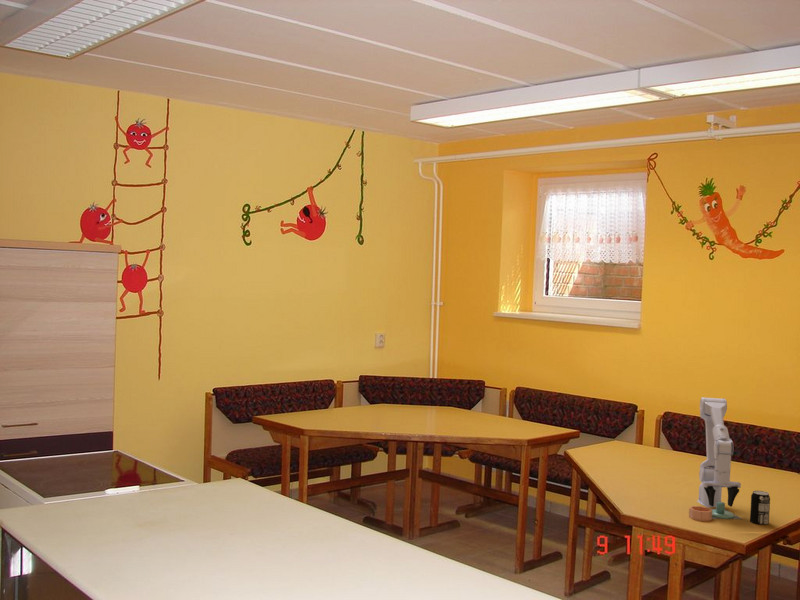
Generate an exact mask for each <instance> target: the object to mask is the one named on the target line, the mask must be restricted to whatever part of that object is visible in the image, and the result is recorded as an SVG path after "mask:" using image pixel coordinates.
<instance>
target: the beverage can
mask: <svg viewBox="0 0 800 600" xmlns="http://www.w3.org/2000/svg"><path fill="white" fill-rule="evenodd" d="M770 504H771V496H770V493H769V492H768V491H763V490H753V491H752V493H751V495H750V514H749V515H750V516H749V522H750V523H752V524H755V525H760V526H766V525H769V523H770V512H771V511H770V509H771V505H770Z"/></svg>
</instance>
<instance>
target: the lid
mask: <svg viewBox="0 0 800 600" xmlns="http://www.w3.org/2000/svg"><path fill="white" fill-rule="evenodd" d="M725 508H726V503H725V502H723V501H721V502H717V505H716V507H715V508H710V509H711V510H713V511H712V517H716V518H722V519H721V520H732V519H731V518H734V512H731V511H730V512H728V511H729V510H728V511H725Z"/></svg>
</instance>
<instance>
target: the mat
mask: <svg viewBox="0 0 800 600" xmlns="http://www.w3.org/2000/svg"><path fill="white" fill-rule="evenodd" d="M725 511H728V512H731V511H730V510H728V509H725ZM733 514H734V513H733ZM712 520H723V519H722V518H716V517H712ZM730 520H743V518H742V517H740V516H738V515H737V514H734V518H731V519H730Z"/></svg>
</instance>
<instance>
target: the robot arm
mask: <svg viewBox="0 0 800 600" xmlns="http://www.w3.org/2000/svg"><path fill="white" fill-rule="evenodd" d="M727 402H728V401H727V400H726V398H715V397H704V396H702V397H701V398H700V400H699V416H700V419H702V420H704V425H705V442H706V443H705V445H706V446H705V447H706V450H705V451H706V459H705V460H704V461H703V462H701V463H700V465H699V472H698V473H699V474H698V475H699V477H698V478H699V482H701V483H700V484H699V487H698V499H697V500H696V502H697V503H699V504H700V505H701V506H703V507H707V508H716V505H717V502H722V494H723V493H722V492H723V488H726V490H727V506H729V507H733V504H734V501H735V500H736V497H737V496H738V494H739V492H740V489H741V485H742V484H741V482H739V481H731V469H732V468H731V467H732V466H731V465H732V464H731V463H732V456H733V454H734V442H733V440H732V438H730V433H729V430H728V427H727V426H726V425H725V424H724V423H725V422H724V417H725V416H726V413H727V410H728V403H727Z"/></svg>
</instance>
